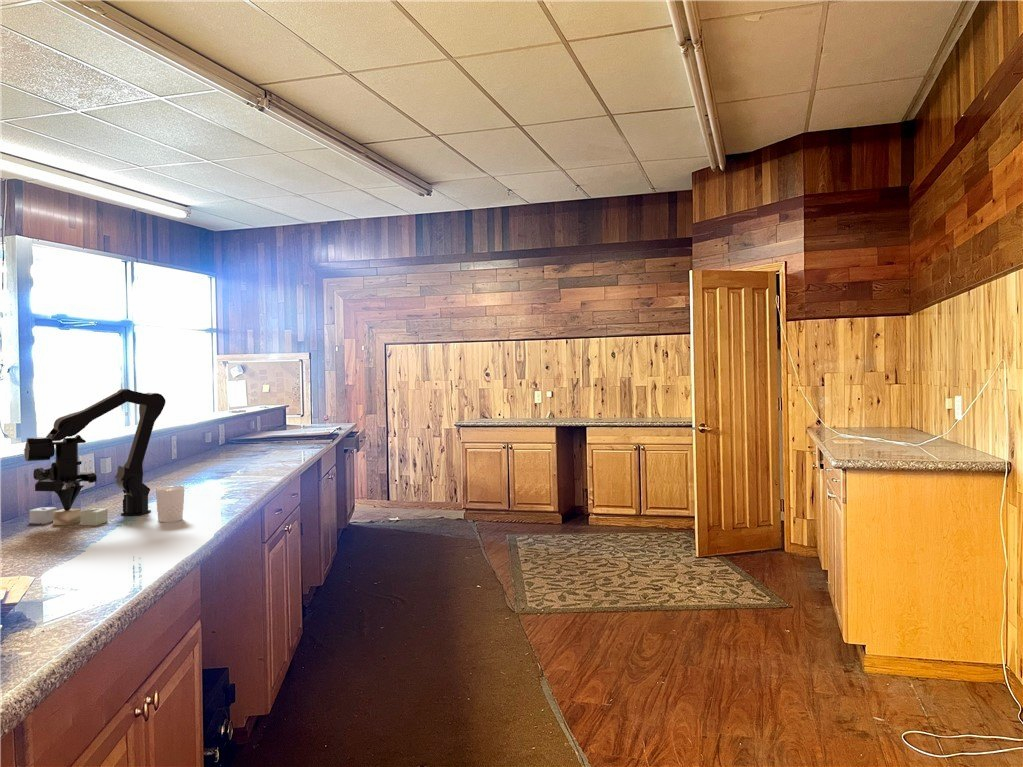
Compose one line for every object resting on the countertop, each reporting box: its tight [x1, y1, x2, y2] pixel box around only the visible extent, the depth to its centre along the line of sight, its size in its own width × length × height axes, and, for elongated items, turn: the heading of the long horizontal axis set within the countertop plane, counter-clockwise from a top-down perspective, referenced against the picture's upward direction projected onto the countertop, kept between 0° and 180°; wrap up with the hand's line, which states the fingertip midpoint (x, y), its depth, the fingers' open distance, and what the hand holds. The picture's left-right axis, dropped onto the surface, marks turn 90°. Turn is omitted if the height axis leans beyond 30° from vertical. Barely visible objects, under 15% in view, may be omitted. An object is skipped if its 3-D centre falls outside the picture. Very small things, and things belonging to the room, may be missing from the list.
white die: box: [29, 506, 58, 525], centre depth 212 cm, size 5×5×4 cm
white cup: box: [155, 485, 185, 523], centre depth 216 cm, size 8×8×10 cm
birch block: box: [52, 508, 82, 526], centre depth 210 cm, size 5×5×4 cm
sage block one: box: [80, 508, 109, 526], centre depth 211 cm, size 5×5×4 cm
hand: (67, 510), depth 210 cm, fingers closed
